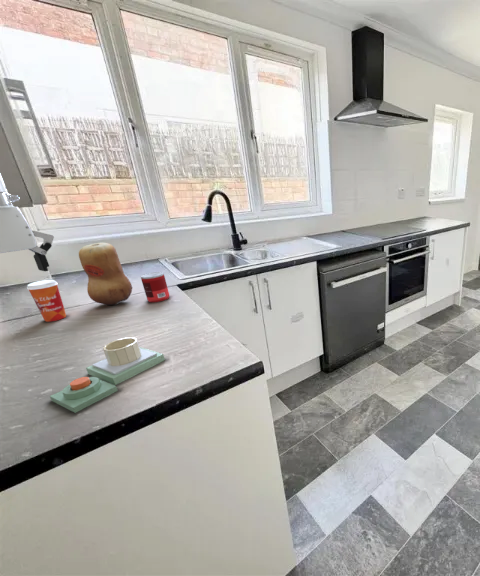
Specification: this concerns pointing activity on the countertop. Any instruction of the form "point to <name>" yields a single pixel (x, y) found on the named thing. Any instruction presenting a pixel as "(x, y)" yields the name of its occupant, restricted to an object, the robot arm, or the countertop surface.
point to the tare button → (80, 383)
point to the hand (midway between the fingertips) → (16, 275)
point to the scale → (125, 367)
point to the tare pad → (83, 395)
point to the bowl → (122, 351)
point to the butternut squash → (104, 274)
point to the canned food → (155, 286)
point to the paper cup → (47, 299)
